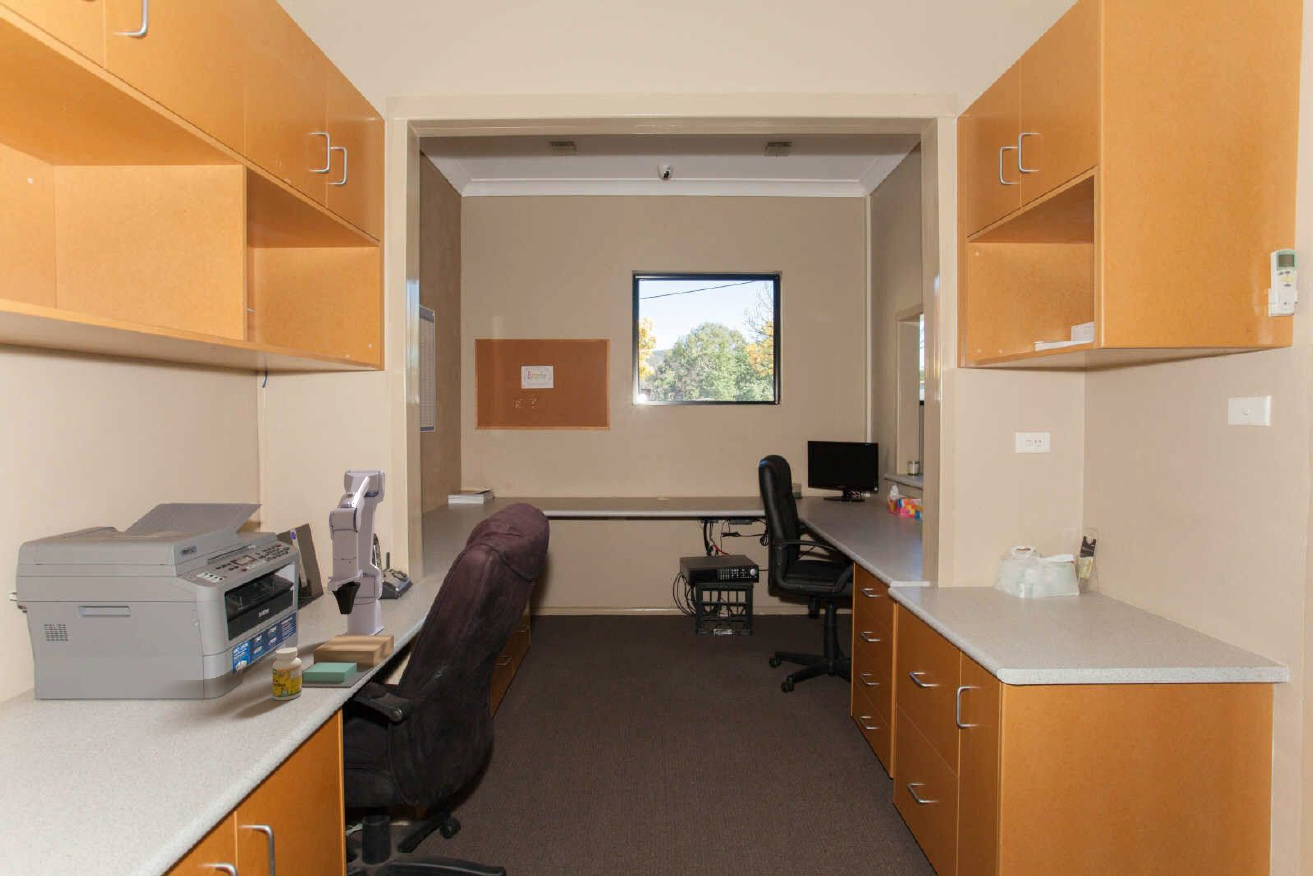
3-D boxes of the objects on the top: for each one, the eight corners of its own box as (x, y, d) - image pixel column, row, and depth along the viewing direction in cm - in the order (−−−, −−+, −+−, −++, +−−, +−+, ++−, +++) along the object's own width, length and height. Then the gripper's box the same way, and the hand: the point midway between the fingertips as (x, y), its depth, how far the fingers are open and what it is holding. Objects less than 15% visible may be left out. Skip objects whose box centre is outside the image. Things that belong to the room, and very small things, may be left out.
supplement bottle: (307, 693, 152) (307, 648, 152) (285, 702, 147) (285, 655, 147) (289, 689, 154) (288, 645, 154) (266, 698, 149) (266, 652, 149)
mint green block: (303, 671, 158) (303, 681, 158) (344, 672, 158) (344, 681, 158) (317, 662, 164) (317, 671, 164) (356, 663, 164) (356, 671, 164)
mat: (313, 667, 168) (313, 666, 168) (373, 668, 167) (373, 667, 167) (285, 687, 156) (285, 685, 156) (350, 687, 155) (350, 686, 155)
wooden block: (337, 651, 180) (337, 635, 180) (393, 651, 179) (393, 635, 179) (313, 667, 168) (313, 650, 168) (373, 668, 167) (373, 651, 167)
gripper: (342, 552, 182) (343, 605, 183) (314, 563, 168) (314, 622, 168) (370, 552, 182) (371, 606, 183) (344, 563, 168) (344, 622, 168)
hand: (346, 613), depth 175 cm, fingers closed
